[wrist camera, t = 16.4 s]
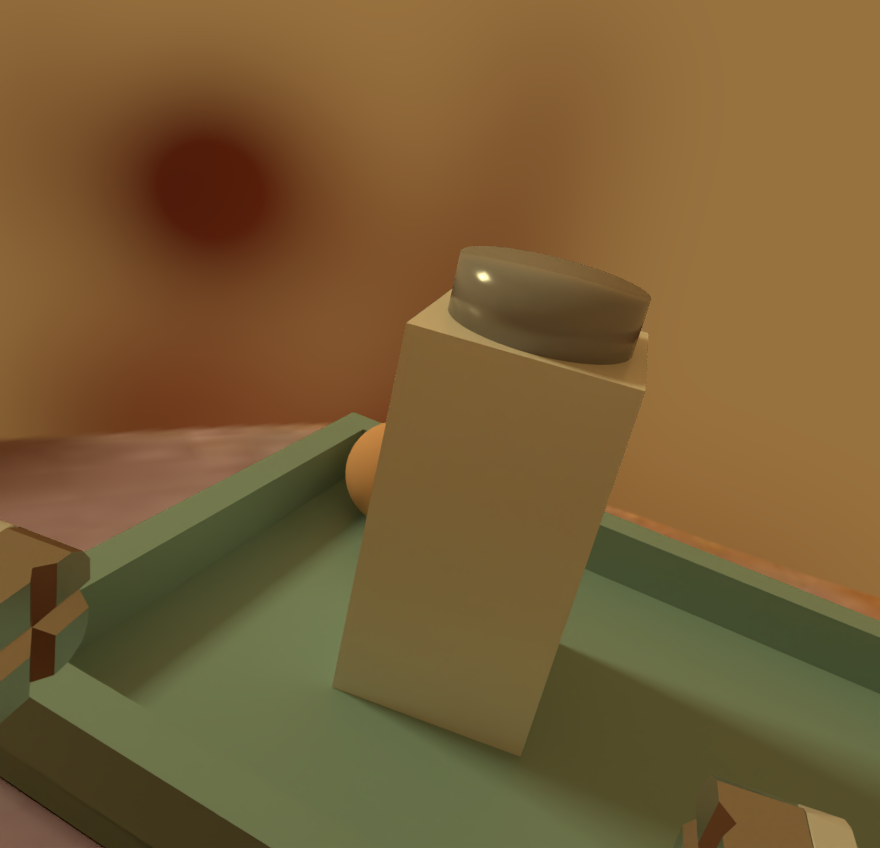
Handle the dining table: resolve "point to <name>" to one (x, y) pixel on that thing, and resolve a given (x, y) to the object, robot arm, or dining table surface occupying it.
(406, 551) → the shaker
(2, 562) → the robot arm
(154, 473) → the dining table surface
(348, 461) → the ball
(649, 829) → the tray
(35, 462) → the dining table surface
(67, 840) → the dining table surface
